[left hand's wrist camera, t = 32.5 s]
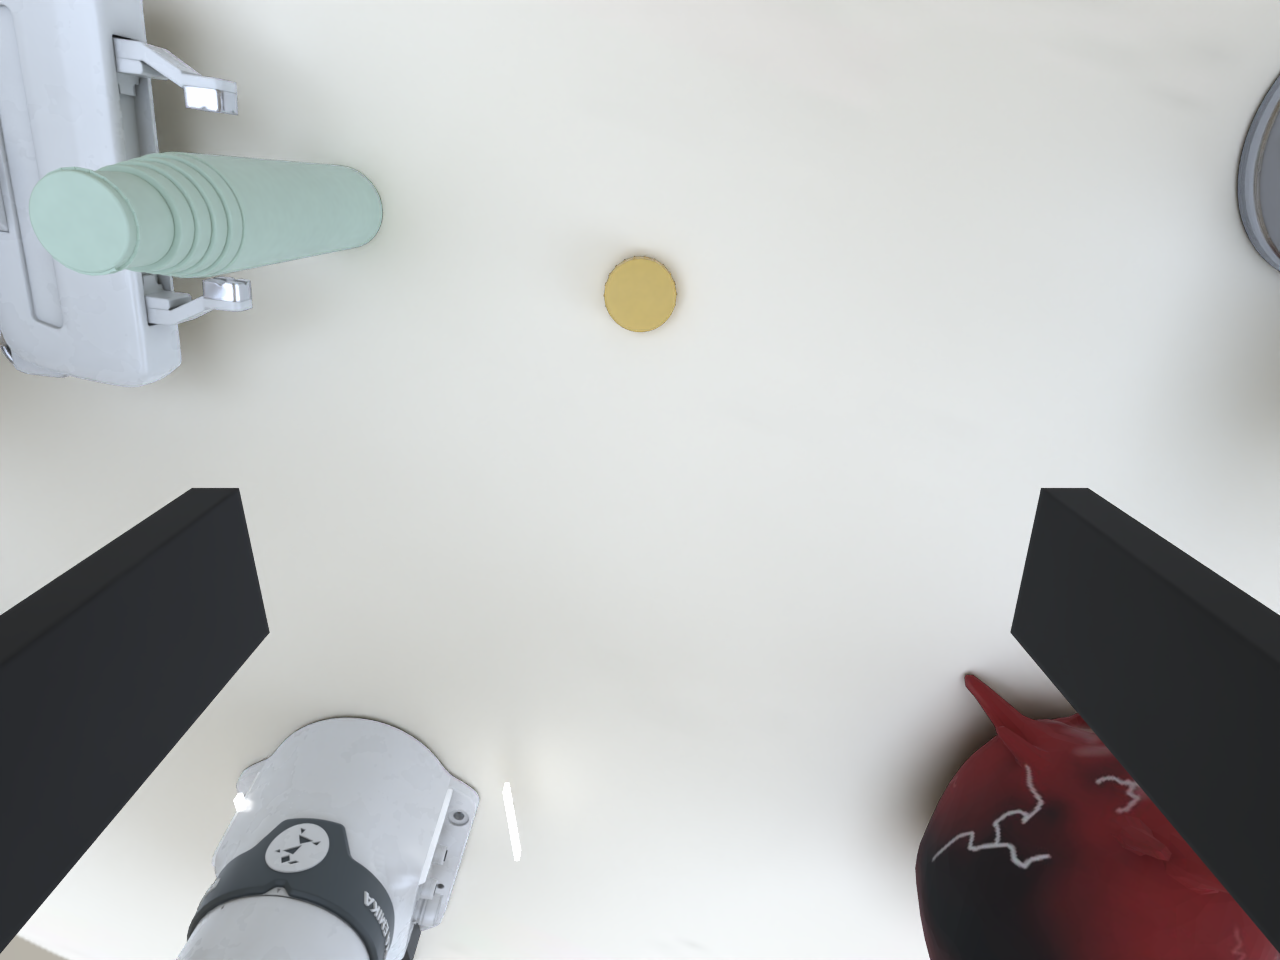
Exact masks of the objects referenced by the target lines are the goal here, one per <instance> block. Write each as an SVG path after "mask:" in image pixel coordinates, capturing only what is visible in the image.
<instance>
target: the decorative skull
mask: <svg viewBox="0 0 1280 960" xmlns="http://www.w3.org/2000/svg"><path fill="white" fill-rule="evenodd" d="M965 685H966V687H967V688H968V690H969V691H970V692H971V693H972V694H973V695H974V697H975V698H976V699H977V701H978V702H979V704H980V705H981V707H982V708H983V710H984V711H985V713H986V714H987V716H988V717H989V718H990V720H991V721H992V723H993V724H994V726H995V728H996V729H995V730H996V732H997V734H998V735H996V736H995V737H994V738H992V739H991V740H990V741H988V742H987V743H986V744H985V745H983V746H982V747H981V748H979V749H978V750H977V751H976V752H975V753H973V754H972V755H971V756H970V757H969V758H968V759H967V760H966V761H965V763H964V764H963V765H962V766H961V767H960V769H959V770H958V771H957V773H956V774H955V775H954V777H953V778H952V780H951V781H950V782H949V784H948V786H947V788H946V790H945V791H944V793H943V795H942V797H941V798H940V800H939V802H938V804H937V807H936V809H935V811H934V813H933V815H932V817H931V820H930V822H929V824H928V826H927V828H926V831H925V833H924V836H923V838H922V840H921V843H920V846H919V850H918V854H917V861H916V867H915V869H916V884H917V892H918V900H919V908H920V916H921V921H922V926H923V932H924V937H925V941H926V945H927V949H928V953H929V957H930V960H1280V953H1279V952H1278V951H1277V950H1276V949H1275V947H1274V946H1273V945H1272V944H1271V943H1270V941H1269V940H1268V939H1267V938H1266V937H1265V935H1264V934H1263V933H1262V932H1261V931H1260V929H1259V928H1258V927H1257V926H1256V925H1255V924H1254V922H1253V921H1252V920H1251V919H1250V918H1249V916H1248V915H1247V914H1246V913H1245V912H1244V910H1243V909H1242V908H1241V907H1240V906H1239V904H1238V903H1237V902H1236V901H1235V900H1234V898H1233V897H1232V896H1231V895H1230V894H1229V893H1228V891H1227V890H1226V889H1225V888H1224V887H1223V885H1222V884H1221V883H1220V882H1219V881H1218V879H1217V878H1216V877H1215V876H1214V875H1213V873H1212V872H1211V871H1210V870H1209V869H1208V867H1207V866H1206V865H1205V864H1204V863H1203V862H1202V860H1201V859H1200V858H1199V857H1198V856H1197V854H1196V853H1195V852H1194V851H1193V850H1192V848H1191V847H1190V846H1189V845H1188V844H1187V842H1186V841H1185V840H1184V839H1183V838H1182V836H1181V835H1180V834H1179V833H1178V832H1177V830H1176V829H1175V828H1174V827H1173V826H1172V825H1171V823H1170V822H1169V821H1168V820H1167V819H1166V817H1165V816H1164V815H1163V814H1162V813H1161V811H1160V810H1159V809H1158V808H1157V807H1156V805H1155V804H1154V803H1153V802H1152V801H1151V799H1150V798H1149V797H1148V796H1147V795H1146V794H1145V792H1144V791H1143V790H1142V789H1141V788H1140V786H1139V785H1138V784H1137V783H1136V782H1135V780H1134V779H1133V778H1132V777H1131V776H1130V774H1129V773H1128V772H1127V771H1126V770H1125V768H1124V767H1123V766H1122V765H1121V764H1120V763H1119V761H1118V760H1117V759H1116V758H1115V757H1114V755H1113V754H1112V753H1111V752H1110V751H1109V749H1108V748H1107V747H1106V746H1105V745H1104V743H1103V742H1102V741H1101V740H1100V739H1099V737H1098V736H1097V735H1096V734H1095V733H1094V731H1093V730H1092V729H1091V728H1090V727H1089V726H1088V724H1087V723H1086V722H1085V721H1084V720H1083V718H1082V717H1081V716H1080V715H1079V714H1078V713H1076V714H1074V715H1071V716H1069V717H1062V718H1056V719H1052V720H1051V719H1038V720H1034V719H1031V718H1028V717H1026V716H1024V715H1022V714H1021V713H1020V712H1018V711H1017V710H1016V709H1015V708H1014V707H1012V706H1011V705H1010V704H1009V703H1008V702H1006V701H1005V700H1004V699H1003V698H1002V697H1001V696H999V695H998V694H997V693H996V692H995V691H993V690H992V689H991V688H990V687H988V686H987V685H986V684H984V683H983V682H982V681H980V680H979V679H978V678H977V677H975V676H974V675H966V676H965Z"/></svg>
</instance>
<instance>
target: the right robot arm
mask: <svg viewBox="0 0 1280 960" xmlns="http://www.w3.org/2000/svg"><path fill="white" fill-rule="evenodd" d="M151 79H159V80H168V79H170V80H171V81H173V82H174V83H175V84H177V85H178V86H180V87H181V88H183V89H184V96H185V105H186V108H191V109H197V110H202V111H209V112H216V113H225V114H232V115H238V104H237V86H236V82H232V81H228V80H224V79H218V78H213V77H206V76H202V75H201V74H199V73H198V72H197V71H195V70H194V69H193V68H191V67H190V66H189V65H187V64H186V63H185V62H183V61H182V60H180V59H179V58H178V57H176V56H175V55H174V54H172V53H171V52H170V51H168V50H167V49H164V48H161V47H157V46H154V45H150V44H147V40H146V31H145V22H144V13H143V3H142V0H0V347H1V349H2V351H3V353H4V355H5V356H6V358H7V359H8V360H9V361H10V362H11V363H12V364H13V365H14V366H15V368H16V369H17V370H19V371H21V372H24V373H27V374H33V375H41V376H50V377H67V376H73V377H77V378H81V379H86V380H90V381H95V382H100V383H105V384H111V385H117V386H124V387H138V386H143V385H147V384H150V383H153V382H156V381H158V380H160V379H162V378H164V377H165V376H167V375H168V374H170V373H171V372H172V371H174V370H175V369H176V368H177V367H178V366H180V364H181V348H180V339H179V331H178V324H179V323H183V322H186V321H189V320H193V319H196V318H198V317H200V316H202V315H204V314H206V313H208V312H210V311H212V310H214V309H216V310H225V311H244V310H248V309H251V308H252V295H251V282H250V280H248V279H237V280H235V279H234V278H232V277H223V276H219V277H214V278H213V279H210V278H209V279H205V280H202V281H203V296H201V297H199V298H196V299H194V300H192V297H191V295H190V294H189V293H181V292H174V285H173V276H165V275H160V274H150V273H145V272H134V271H130V270H127V269H124V270H122V271H119V272H116V273H114V274H107V275H97V276H91V275H86V274H80V273H78V272H75V271H73V270H71V269H69V268H66V267H65V266H64V265H62V264H61V263H60V262H58V261H57V260H55V259H54V258H53V257H52V256H51V254H50V253H49V252H48V251H47V250H46V249H45V248H44V247H43V246H42V244H41V243H40V241H39V240H38V238H37V236H36V234H35V232H34V230H33V228H32V225H31V221H30V216H29V199H30V196H31V193H32V190H33V188H34V187H35V185H36V184H37V183H38V181H39V180H40V179H42V178H43V177H44V176H45V175H46V174H47V173H48V172H51V171H54V170H56V169H58V168H63V167H81V168H85V169H90V170H93V171H96V170H98V169H100V168H102V167H105V166H108V165H114V164H116V163H119V162H122V161H128V160H130V159H133V158H137V157H141V156H144V155H147V154H152V153H159V149H158V140H157V131H156V121H155V112H154V103H153V94H152V85H151ZM236 788H237V791H238V795H237V796H236V798H235V799H234V803H235V806H236V809H237V811H236V813H235V815H234V817H233V819H232V821H231V822H230V824H229V826H228V828H227V830H226V832H225V834H224V835H223V837H222V839H221V841H220V843H219V845H218V847H217V849H216V851H215V853H214V855H213V858H212V865H213V866H214V867H215V874H216V877H217V879H216V880H215V882H214V883H213V884H212V885H211V886H210V888H209V889H208V890H207V892H206V893H205V895H204V897H203V899H202V900H201V902H200V904H199V906H198V908H197V912H196V914H195V916H194V918H193V920H192V922H191V924H190V926H189V930H188V934H187V943H186V944H185V946H184V948H183V949H182V951H181V953H180V954H179V956H178V958H177V959H176V960H413V957H414V954H415V950H416V947H417V944H418V940H419V937H420V934H421V931H423V930H427V929H430V928H432V927H435V926H437V925H439V924H440V922H441V921H442V918H443V916H444V913H445V911H446V907H447V904H448V901H449V898H450V895H451V892H452V888H453V885H454V882H455V879H456V875H457V872H458V869H459V866H460V862H461V859H462V856H463V853H464V850H465V846H466V843H467V840H468V837H469V833H470V830H471V827H472V824H473V820H474V817H475V814H476V811H477V807H478V804H479V795H478V794H477V792H476V791H475V790H474V789H473V788H471V787H470V786H468V785H467V784H465V783H464V782H462V781H461V780H459V779H457V778H455V777H454V776H452V775H451V774H450V773H449V772H448V771H447V770H446V769H445V768H444V767H443V765H442V764H441V763H440V762H439V760H438V759H437V758H436V756H435V755H434V754H433V753H432V752H431V751H430V750H429V749H428V748H427V747H426V746H425V745H423V744H422V743H421V742H420V741H418V740H417V739H416V738H414V737H412V736H411V735H409V734H407V733H406V732H404V731H402V730H400V729H398V728H395V727H393V726H390V725H388V724H385V723H381V722H378V721H373V720H368V719H361V718H333V719H327V720H322V721H318V722H315V723H312V724H309V725H307V726H305V727H303V728H301V729H299V730H297V731H296V732H294V733H293V734H291V735H290V736H289V737H288V738H287V739H286V740H285V741H284V742H283V743H282V744H281V745H280V746H279V747H278V749H277V750H276V751H275V752H274V753H273V754H272V755H271V756H270V757H269V758H268V759H266V760H263V761H261V762H259V763H256V764H254V765H252V766H250V767H248V768H247V769H245V770H244V771H243V772H242V774H241V776H240V778H239V780H238V782H237V785H236ZM503 796H504V801H505V807H506V813H507V818H508V824H509V829H510V835H511V841H512V846H513V852H514V858H515V861H519V858H520V852H521V849H520V843H519V837H518V831H517V826H516V820H515V814H514V808H513V802H512V797H511V791H510V785H509V783H505V785H504V790H503ZM459 812H461V813H459Z"/></svg>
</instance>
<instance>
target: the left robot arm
mask: <svg viewBox="0 0 1280 960" xmlns="http://www.w3.org/2000/svg"><path fill="white" fill-rule="evenodd" d="M1238 202H1239V209H1240V214H1241V219H1242V222H1243V225H1244V228H1245V230H1246V233H1247V235H1248V237H1249V239H1250V241H1251V242H1252V244H1253V246H1254V247H1255V249H1256V250H1257V251H1258V252H1259V254H1260V255H1261V256H1262V257H1263V258H1264V259H1265V260H1266V261H1267V262H1268V263H1269V264H1270V265H1271V266H1273V267H1274V268H1276V269H1277V270H1279V271H1280V76H1279V77H1278V78H1277V79H1276V81H1275V82H1274V84H1273V85H1272V87H1271V88H1270V90H1269V91H1268V93H1267V94H1266V96H1265V98H1264V100H1263V101H1262V103H1261V105H1260V107H1259V109H1258V111H1257V113H1256V115H1255V117H1254V119H1253V121H1252V124H1251V126H1250V129H1249V132H1248V134H1247V137H1246V140H1245V144H1244V147H1243V151H1242V155H1241V160H1240V165H1239V174H1238ZM268 634H269V628H268V623H267V618H266V614H265V609H264V604H263V600H262V595H261V590H260V585H259V581H258V576H257V571H256V567H255V562H254V557H253V553H252V548H251V543H250V538H249V534H248V529H247V524H246V520H245V515H244V510H243V505H242V501H241V496H240V491H239V488H191V489H190V490H188V491H187V492H185V493H184V494H182V495H181V496H179V497H178V498H176V499H175V500H173V501H172V502H170V503H169V504H167V505H166V506H164V507H163V508H161V509H160V510H158V511H157V512H155V513H154V514H152V515H151V516H149V517H148V518H146V519H145V520H143V521H142V522H140V523H139V524H137V525H136V526H134V527H133V528H131V529H130V530H128V531H127V532H125V533H124V534H122V535H121V536H119V537H118V538H116V539H115V540H113V541H112V542H110V543H109V544H107V545H106V546H104V547H103V548H101V549H100V550H98V551H97V552H95V553H94V554H92V555H91V556H89V557H88V558H86V559H85V560H83V561H82V562H80V563H79V564H77V565H76V566H74V567H73V568H71V569H70V570H68V571H66V572H65V573H63V574H62V575H60V576H59V577H57V578H56V579H54V580H53V581H51V582H50V583H48V584H47V585H45V586H44V587H42V588H41V589H39V590H38V591H36V592H35V593H33V594H32V595H30V596H29V597H27V598H26V599H24V600H23V601H21V602H20V603H18V604H17V605H15V606H14V607H12V608H11V609H9V610H8V611H6V612H5V613H3V614H2V615H0V953H1V952H2V951H3V950H4V949H5V947H6V946H7V945H8V944H9V943H10V941H11V940H12V939H13V938H14V937H15V935H16V934H17V933H18V932H19V931H20V929H21V928H22V927H23V926H24V925H25V924H26V922H27V921H28V920H29V919H30V918H31V916H32V915H33V914H34V913H35V912H36V910H37V909H38V908H39V907H40V906H41V904H42V903H43V902H44V901H45V900H46V898H47V897H48V896H49V895H50V894H51V893H52V891H53V890H54V889H55V888H56V887H57V885H58V884H59V883H60V882H61V881H62V879H63V878H64V877H65V876H66V875H67V873H68V872H69V871H70V870H71V869H72V867H73V866H74V865H75V864H76V863H77V862H78V860H79V859H80V858H81V857H82V856H83V854H84V853H85V852H86V851H87V850H88V848H89V847H90V846H91V845H92V844H93V842H94V841H95V840H96V839H97V838H98V836H99V835H100V834H101V833H102V832H103V830H104V829H105V828H106V827H107V826H108V825H109V823H110V822H111V821H112V820H113V819H114V817H115V816H116V815H117V814H118V813H119V811H120V810H121V809H122V808H123V807H124V805H125V804H126V803H127V802H128V801H129V799H130V798H131V797H132V796H133V795H134V794H135V792H136V791H137V790H138V789H139V788H140V786H141V785H142V784H143V783H144V782H145V780H146V779H147V778H148V777H149V776H150V774H151V773H152V772H153V771H154V770H155V768H156V767H157V766H158V765H159V764H160V763H161V761H162V760H163V759H164V758H165V757H166V755H167V754H168V753H169V752H170V751H171V749H172V748H173V747H174V746H175V745H176V743H177V742H178V741H179V740H180V739H181V737H182V736H183V735H184V734H185V733H186V731H187V730H188V729H189V728H190V727H191V726H192V724H193V723H194V722H195V721H196V720H197V718H198V717H199V716H200V715H201V714H202V712H203V711H204V710H205V709H206V708H207V706H208V705H209V704H210V703H211V702H212V700H213V699H214V698H215V697H216V696H217V695H218V693H219V692H220V691H221V690H222V689H223V687H224V686H225V685H226V684H227V683H228V681H229V680H230V679H231V678H232V677H233V675H234V674H235V673H236V672H237V671H238V669H239V668H240V667H241V666H242V665H243V664H244V662H245V661H246V660H247V659H248V658H249V656H250V655H251V654H252V653H253V652H254V650H255V649H256V648H257V647H258V646H259V644H260V643H261V642H262V641H263V640H264V638H265V637H266V636H267V635H268ZM1011 634H1012V635H1013V636H1014V637H1015V638H1016V640H1017V641H1018V642H1019V643H1020V644H1021V646H1022V647H1023V648H1024V649H1025V650H1026V652H1027V653H1028V654H1029V655H1030V656H1031V658H1032V659H1033V660H1034V661H1035V662H1036V664H1037V665H1038V666H1039V667H1040V668H1041V669H1042V671H1043V672H1044V673H1045V674H1046V675H1047V677H1048V678H1049V679H1050V680H1051V681H1052V683H1053V684H1054V685H1055V686H1056V687H1057V689H1058V690H1059V691H1060V692H1061V693H1062V695H1063V696H1064V697H1065V698H1066V699H1067V700H1068V702H1069V703H1070V704H1071V705H1072V706H1073V708H1074V709H1075V710H1076V711H1077V712H1078V714H1079V715H1080V716H1081V717H1082V718H1083V720H1084V721H1085V722H1086V723H1087V724H1088V726H1089V727H1090V728H1091V729H1092V730H1093V731H1094V733H1095V734H1096V735H1097V736H1098V737H1099V739H1100V740H1101V741H1102V742H1103V743H1104V745H1105V746H1106V747H1107V748H1108V749H1109V751H1110V752H1111V753H1112V754H1113V755H1114V757H1115V758H1116V759H1117V760H1118V761H1119V763H1120V764H1121V765H1122V766H1123V767H1124V768H1125V770H1126V771H1127V772H1128V773H1129V774H1130V776H1131V777H1132V778H1133V779H1134V780H1135V782H1136V783H1137V784H1138V785H1139V786H1140V788H1141V789H1142V790H1143V791H1144V792H1145V794H1146V795H1147V796H1148V797H1149V798H1150V799H1151V801H1152V802H1153V803H1154V804H1155V805H1156V807H1157V808H1158V809H1159V810H1160V811H1161V813H1162V814H1163V815H1164V816H1165V817H1166V819H1167V820H1168V821H1169V822H1170V823H1171V825H1172V826H1173V827H1174V828H1175V829H1176V830H1177V832H1178V833H1179V834H1180V835H1181V836H1182V838H1183V839H1184V840H1185V841H1186V842H1187V844H1188V845H1189V846H1190V847H1191V848H1192V850H1193V851H1194V852H1195V853H1196V854H1197V856H1198V857H1199V858H1200V859H1201V860H1202V862H1203V863H1204V864H1205V865H1206V866H1207V867H1208V869H1209V870H1210V871H1211V872H1212V873H1213V875H1214V876H1215V877H1216V878H1217V879H1218V881H1219V882H1220V883H1221V884H1222V885H1223V887H1224V888H1225V889H1226V890H1227V891H1228V893H1229V894H1230V895H1231V896H1232V897H1233V898H1234V900H1235V901H1236V902H1237V903H1238V904H1239V906H1240V907H1241V908H1242V909H1243V910H1244V912H1245V913H1246V914H1247V915H1248V916H1249V918H1250V919H1251V920H1252V921H1253V922H1254V924H1255V925H1256V926H1257V927H1258V928H1259V929H1260V931H1261V932H1262V933H1263V934H1264V935H1265V937H1266V938H1267V939H1268V940H1269V941H1270V943H1271V944H1272V945H1273V946H1274V947H1275V949H1276V950H1277V951H1278V952H1279V953H1280V615H1278V614H1277V613H1275V612H1274V611H1272V610H1271V609H1269V608H1268V607H1266V606H1265V605H1263V604H1262V603H1260V602H1259V601H1257V600H1256V599H1254V598H1253V597H1251V596H1250V595H1248V594H1247V593H1245V592H1244V591H1242V590H1241V589H1239V588H1238V587H1236V586H1235V585H1233V584H1232V583H1230V582H1229V581H1227V580H1226V579H1224V578H1223V577H1221V576H1220V575H1218V574H1217V573H1215V572H1213V571H1212V570H1210V569H1209V568H1207V567H1206V566H1204V565H1203V564H1201V563H1200V562H1198V561H1197V560H1195V559H1194V558H1192V557H1191V556H1189V555H1188V554H1186V553H1185V552H1183V551H1182V550H1180V549H1179V548H1177V547H1176V546H1174V545H1173V544H1171V543H1170V542H1168V541H1167V540H1165V539H1164V538H1162V537H1161V536H1159V535H1158V534H1156V533H1155V532H1153V531H1152V530H1150V529H1149V528H1147V527H1146V526H1144V525H1143V524H1141V523H1140V522H1138V521H1137V520H1135V519H1134V518H1132V517H1131V516H1129V515H1128V514H1126V513H1125V512H1123V511H1122V510H1120V509H1119V508H1117V507H1116V506H1114V505H1113V504H1111V503H1110V502H1108V501H1107V500H1105V499H1104V498H1102V497H1101V496H1099V495H1098V494H1096V493H1095V492H1093V491H1092V490H1090V489H1089V488H1041V491H1040V496H1039V501H1038V505H1037V510H1036V515H1035V520H1034V524H1033V529H1032V534H1031V538H1030V543H1029V548H1028V552H1027V557H1026V562H1025V567H1024V571H1023V576H1022V581H1021V585H1020V590H1019V595H1018V600H1017V604H1016V609H1015V614H1014V618H1013V623H1012V628H1011Z"/></svg>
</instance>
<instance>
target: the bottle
mask: <svg viewBox="0 0 1280 960" xmlns="http://www.w3.org/2000/svg"><path fill="white" fill-rule="evenodd" d="M29 216H30V221H31V225H32V228H33V230H34V232H35V234H36V236H37V238H38V240H39V241H40V243H41V244H42V246H43V247H44V248H45V249H46V250H47V251H48V252H49V253H50V254H51V256H52V257H53V258H54V259H55V260H57V261H58V262H60V263H61V264H62V265H64V266H65V267H66V268H69V269H71V270H73V271H75V272H78V273H80V274H86V275H91V276H97V275H107V274H114V273H116V272H119V271H122V270H124V269H127V270H130V271H134V272H145V273H150V274H160V275H165V276H174V277H180V278H194V277H195V278H204V277H211V276H216V275H221V274H226V273H231V272H236V271H241V270H246V269H251V268H256V267H261V266H266V265H271V264H276V263H281V262H286V261H291V260H296V259H301V258H306V257H311V256H316V255H321V254H326V253H331V252H336V251H341V250H346V249H351V248H356V247H359V246H362V245H364V244H366V243H368V242H369V241H370V240H371V239H373V237H374V236H375V235H376V234H377V232H378V230H379V228H380V225H381V222H382V204H381V199H380V197H379V194H378V192H377V190H376V188H375V187H374V185H373V184H372V183H371V182H370V180H369V179H368V178H367V177H366V176H364V175H363V174H362V173H360V172H359V171H357V170H355V169H353V168H350V167H346V166H340V165H329V164H317V163H305V162H293V161H281V160H269V159H257V158H245V157H233V156H221V155H209V154H197V153H186V152H164V153H152V154H147V155H144V156H141V157H137V158H133V159H130V160H128V161H122V162H119V163H116V164H114V165H108V166H105V167H102V168H100V169H98V170H96V171H93V170H90V169H85V168H81V167H63V168H58V169H56V170H54V171H51V172H48V173H47V174H46V175H45V176H44V177H43V178H42V179H40V180H39V181H38V183H37V184H36V185H35V187H34V188H33V190H32V193H31V196H30V199H29Z"/></svg>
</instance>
